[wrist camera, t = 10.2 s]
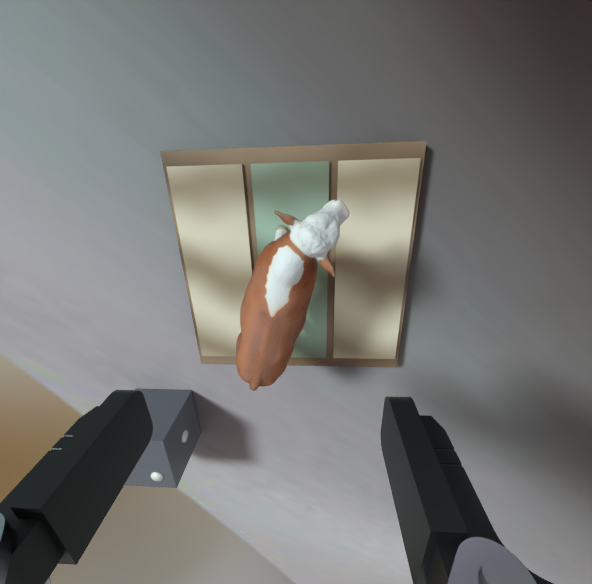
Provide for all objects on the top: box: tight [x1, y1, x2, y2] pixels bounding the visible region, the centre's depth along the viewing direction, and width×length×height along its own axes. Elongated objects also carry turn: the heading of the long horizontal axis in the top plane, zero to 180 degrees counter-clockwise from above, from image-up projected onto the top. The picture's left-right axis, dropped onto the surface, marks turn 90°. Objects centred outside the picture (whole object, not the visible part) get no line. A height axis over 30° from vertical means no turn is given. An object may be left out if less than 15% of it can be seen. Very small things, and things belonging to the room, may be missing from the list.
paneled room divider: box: [161, 141, 427, 367], centre depth 23 cm, size 18×18×1 cm
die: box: [124, 389, 201, 488], centre depth 28 cm, size 6×6×6 cm
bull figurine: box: [236, 200, 350, 391], centre depth 19 cm, size 4×13×8 cm, turn 158°
